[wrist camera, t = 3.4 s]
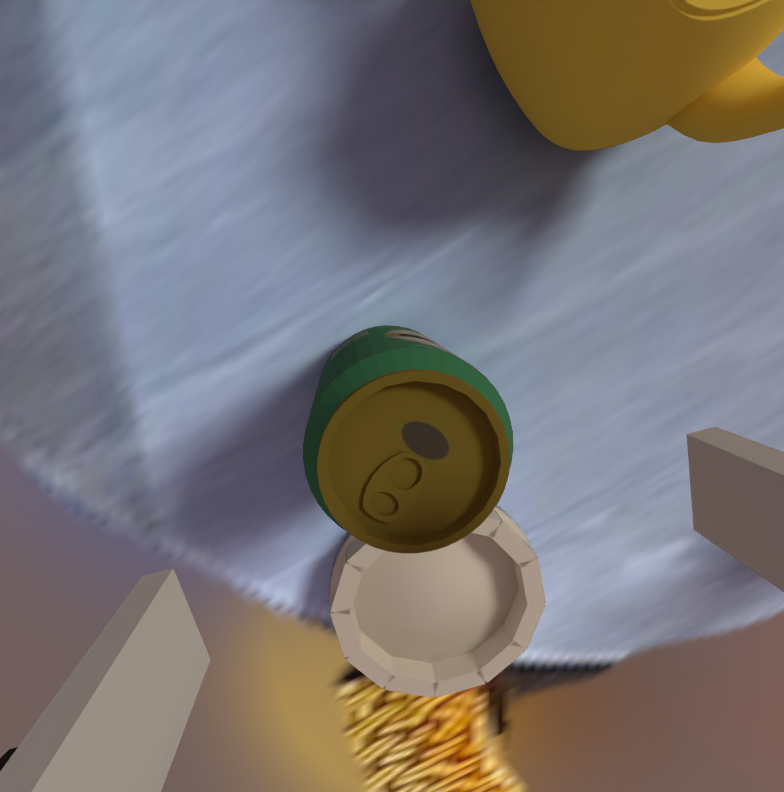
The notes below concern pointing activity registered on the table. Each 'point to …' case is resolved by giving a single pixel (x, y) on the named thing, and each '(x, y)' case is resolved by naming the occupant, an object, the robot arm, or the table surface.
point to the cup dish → (438, 609)
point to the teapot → (637, 67)
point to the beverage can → (406, 442)
